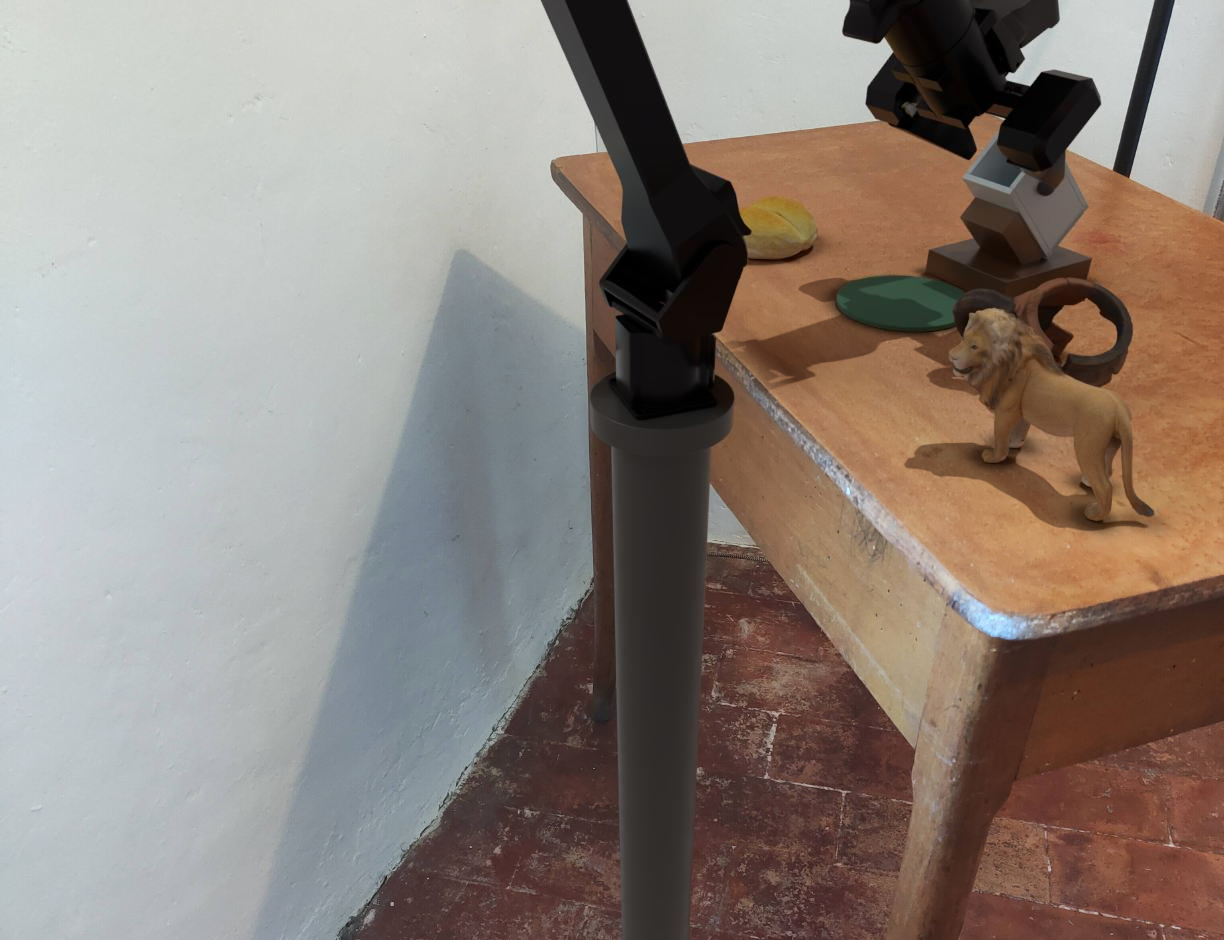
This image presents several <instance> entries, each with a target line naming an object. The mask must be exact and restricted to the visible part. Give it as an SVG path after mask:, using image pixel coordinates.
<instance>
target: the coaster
mask: <svg viewBox="0 0 1224 940" xmlns="http://www.w3.org/2000/svg"><path fill="white" fill-rule="evenodd" d="M837 291H838V292H837V293H836V298H835V302H836V306H837V308H838V309H839V311H840V312H842V313H843V315H845V316H847V317H848V318H850V319H852V320H853V321H855V322H858V323H861V324H863V325H867V326H870V327H873V328H877V329H881V330H882V329H883V330H889V331H897V332H907V333H909V332H912V333H916V332H917V333H918V332H935V331H940V330H941V331H942V330H947V329H951V328H954V327H956V326H955V322H954V315H953V313H952V311H953V308H954V305H955V304H956V302H958V301H959V300H960V298H961V297H962V295H964V294H965V293H966V292H965V291H963V290H961V288H958V287H956V286H955V285H953V284H952V285H951V284H949V283H946V282H943V281H941V280H936V279H931V278H927V277H922V276H921V277H920V276H915V275H914V276H913V275H899V274H898V275H897V274H896V275H895V274H892V275H891V274H890V275H888V274H887V275H876V276H875V275H874V276H868V277H862V278H859V279H856V280H853V281H850V282H849V283H846V284H844V286H841V288H840V289H839V290H837Z"/></svg>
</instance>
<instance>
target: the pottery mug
mask: <svg viewBox="0 0 1224 940" xmlns="http://www.w3.org/2000/svg"><path fill="white" fill-rule="evenodd" d="M1086 299H1087V301H1089V302H1091V303H1092V304H1094V305H1095V306H1097V308H1098V310H1099V315H1100V316H1101V317H1103V318H1104V319H1105V320H1107V321H1109V322H1110V323H1111V324H1113V325H1114V327H1115V330H1116V341H1115V343H1114V345H1113V346H1112V347H1111V348H1110V349H1109V350H1106V351H1105V352H1102V353H1099V354H1094V355H1082V354H1075V353H1072V352H1071V353H1069V352H1068V354H1067V356H1066V359H1065V362H1064V364H1063V365H1061V364H1060V363H1058V362H1056V361H1055V363H1056V365H1057V367H1058V368H1059V369H1060V370H1061V372H1063V373H1064V374H1066V375H1068V376H1070V377H1072V378H1074V379H1076V380H1078V381H1080V382H1083V383H1086V384H1088V385H1092V386H1095V387H1099V388H1102V387H1103V386H1105V385H1108V384H1110V382H1111V381H1112V380H1113V379H1112V378H1113V377H1112V376H1114V375H1118V374H1119V373H1120V372H1121V370H1122V368H1123V367H1124V364H1125V362H1126V360H1127V359H1126V358H1127V357H1128V354H1129V347H1130V345H1131V343H1132V340H1133V336H1134V324H1133V321H1132V318H1131V315H1130V312H1129V310H1128V308H1127V306H1125V303H1124V302H1123V301H1122V300H1121V299H1120V298H1119V297H1118V296H1117V295H1116V294H1115V293H1113V292H1112V291H1111V290H1109V289H1107V288H1106V287H1104V286H1103V285H1100V284H1098V283H1094V282H1092V281H1090V280H1083V279H1078V278H1065V279H1064V278H1057V279H1054V280H1050V281H1047V282H1045V283H1043V284H1042V285H1040V286H1039V287H1038V288H1036V289H1033V290H1031V291H1028V292H1026V293H1024V294H1022V295H1020V296H1016V297H1014V298H1012V297H1008V296H1005V295H1003V294H1001V293H999V292H997V291H995V290H991V289H983V288H980V289H975V290H971V291H967V292H965V294H964V295H962V297H961V298H960V300H959V301H958V302H956V304H955V305H954V308H953V311H952V313H953V315H954V322H955V326H954V327H955V328H956V330H957V332H958V333H959V335H960V337H962V338H963V336H964V332H965V328H966V326H967V324H968V321H969V314H970V313H976V312H977V311H983V310H985V309H989V308H990V309H992V308H996V309H1002V310H1005V312H1006V313H1009V314H1014V315H1015V316H1016V318H1018V319H1020V320H1022V321H1024V322H1025V324H1026V325H1028V326H1029V327H1031V328H1033V332H1034V334H1036V335H1037V336H1040V337H1041V338H1042V339H1043V341H1044V343H1046V344H1047V347H1048V348H1049V349H1050V350H1051V352H1052V354H1053V356H1055V357H1061V355H1062V353H1063V352H1065V350H1066V348H1067V346H1068V345H1069V344H1070V343H1071V342H1072V341H1073V339H1074V338H1075V335H1074V334H1073V332H1071V331H1069V330H1067V329H1065V328H1063V327H1061V326H1060V325H1058V324H1057V323H1055V322H1054V321H1053V320H1054V318H1055V317H1056V316H1057V315H1058V313H1059V312H1061V311H1062V310H1063V309H1064V307H1066V306H1068V307H1069V306H1070V307H1071V306H1076V305H1078V304H1080V303H1082V302H1085V301H1086Z"/></svg>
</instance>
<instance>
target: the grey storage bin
mask: <svg viewBox="0 0 1224 940" xmlns="http://www.w3.org/2000/svg"><path fill="white" fill-rule="evenodd" d="M998 135H999V129H998V130H997V132H996V133H995V134H994V135H993V137H992V138H991V139H990V141H989V142H988V143H987V145H985V147H984V148H983V149H982V150H981V152H980V154H979V155H978V156H977V158H976V159H975V160H974V162H973V163H972V164H971V166H970V167H969V168H968V169H967V170H966V172H965V173H964V175H963V176H962V177H961V178H962V179H961V180H963V182H964V183H965V185H966V187H967V189H968V190H969V192H970V193H971V195H972V196H973V199H974V198H975V197H976V198H979V199H981V200H984V201H987V202H990V203H993V204H995V205H998V206H1001V207H1004V208H1007V209H1009V210H1012V211H1015V212H1018V213H1019V214H1020V216H1021V218H1022V219H1023V221H1024V223H1025V224H1026V226H1027V228H1028V229H1029V231H1030V233H1031V234H1032V236H1033V238H1034V239H1035V241H1036V243H1037V244H1038V246H1039V248H1040V249H1041V251H1042V253H1043V254H1044V255H1043V257H1045V258H1049V256H1050V255H1051V254H1052V253H1053V251H1054V250H1055V249H1056V248H1057V246H1060V244H1061V243H1062V242H1063V240H1064V239H1065V237H1066V236H1067V235H1068V234H1069V232H1071V230H1072V229H1073V228H1074V227H1075V225H1076V224H1077V223H1078V222H1079V220H1080V219H1081V218H1082V217H1083V215H1084V214H1085V213H1086V212H1087V210H1088V209H1089V208H1090V205H1089V204H1088V202H1087V200H1086V197H1085V195H1084V193H1083V192H1082V190H1081V188H1080V187H1079V184H1078V182H1077V180H1076V178H1075V176H1074V174H1073V172H1072V170H1071V169H1070V166H1069V165H1068V162H1067V161H1066V160H1065V177H1064V179H1063V180H1062V182H1061V183H1060V184H1059V186H1058V187H1057V188H1055V189H1054V188H1051V187H1049V186H1047V185H1045V184H1044V183H1042V182H1040V181H1038V180H1036V179H1034V178H1033V177H1031V176H1029V175H1027V174H1026V173H1024V172H1022V171H1020V170H1018V169H1016V168H1015V167H1013V166H1011V165H1009V164H1007V163H1006V161H1007V159H1008V158H1007V157H1006V156H1005V155H1003V154H1002V153H1001V151H1000V149H999V148H998V146H997V140H998Z"/></svg>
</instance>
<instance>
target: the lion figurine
mask: <svg viewBox="0 0 1224 940" xmlns="http://www.w3.org/2000/svg"><path fill="white" fill-rule="evenodd" d="M948 358H949V359H948V360H949V362H950V363H952V364H953V368H952V372H953V375H954V376H955V377H957V378H962V377H964V379H965V381H966V382H967V384H968V385H969V386H971V387H972V388H973V389H974V390H976V391H977V392H978V394H979V398H978V401H979V402H980V403H981V404H982V405H983V406H984V407H987V408H988V409H989V408H990V409H991V410H992V411H994V419H993V435H994V447H993V448H986V449H983V452H982V454H981V458H982V459H983V462H985V463H989V464H997V463H1001V462H1002V461H1004V460H1005V459H1006V458H1007V456H1008V455H1009V452H1010V449H1012V448H1015V449H1017V448H1021V447H1022V446H1023V445H1024V444H1025V441H1026V440H1027V436H1028V433H1029V431H1030V427H1031V426H1033V427H1034V428H1036V429H1038V430H1040V431H1041V432H1043V433H1046V434H1047V435H1050V436H1053V437H1059V438H1073V449H1074V453H1075V459H1076V463H1077V465H1078V467H1079V470H1080V471H1081V472H1082V476H1081V482H1082V483H1083V485H1085V486H1087V487H1090V488H1091V490H1092V492H1093V494H1094V497H1095V499H1096V503H1093V502H1092V503H1088V504H1087V505H1085V509H1084V516H1085V517H1086V519H1087V520H1091V521H1094V522H1098V521H1099V522H1100V521H1102V520H1104V519H1106V518H1107V517H1108V516H1109V514H1110V513H1111V511H1112V504H1113V492H1114V491H1113V490H1114V487H1113V484H1112V483H1111V481H1110V478H1112V476H1113V473H1114V471H1113V470H1114V469H1113V461H1114V458H1115V456H1116V455H1117V453H1118V452H1119V450H1120V461H1121V462H1120V463H1121V475H1122V483H1123V489H1124V490H1123V491H1124V493H1125V496H1126V499H1127V500H1128V502H1129V504H1130V506H1131V508H1132V509H1133V510H1134V511H1135V512H1136V514H1138V515H1139V516H1144V517H1146V518H1152V517H1154V516H1155V510H1154V508H1152V507H1151V506H1150V505H1149V504H1147V503H1146V502H1144V501H1143V500H1142V499H1141V498H1139V496H1137V494H1136V491H1135V488H1134V484H1133V453H1134V438H1133V429H1132V428H1133V426H1132V412H1131V409H1130V407H1129V406H1128V403H1127V402H1126V401H1125V400H1124V398H1123V397H1122V396H1121V395H1120V394H1119V393H1118V392H1116V391H1114V390H1113V389H1109V388H1103V387H1095V386H1092V385H1088V384H1086V383H1083V382H1080V381H1078V380H1076V379H1074V378H1072V377H1070V376H1068V375H1066V374H1064V373H1063V372H1061V370H1060V369H1059V368H1058V367H1057V365H1056V363H1057V362H1056V360H1055V357H1054V355H1053V354H1052V352H1051V350H1050V349H1049V348H1048V347H1047V344H1046V343H1044V341H1043V339H1042V338H1041V337H1040V336H1037V335H1036V334H1034V332H1033V328H1031V327H1029V326H1028V325H1026V324H1025V322H1024V321H1022V320H1020V319H1018V318H1016V316H1015V315H1014V314H1009V313H1006V312H1005V310H1002V309H996V308H992V309H990V308H989V309H985V310H983V311H977V312H976V313H970V314H969V321H968V324H967V326H966V328H965V332H964V336H963V337H962V338H961V341H960V342H959V343H958V345H956V346H955V347H953V348H951V349H950V350H949V351H948ZM1055 362H1056V363H1055Z"/></svg>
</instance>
